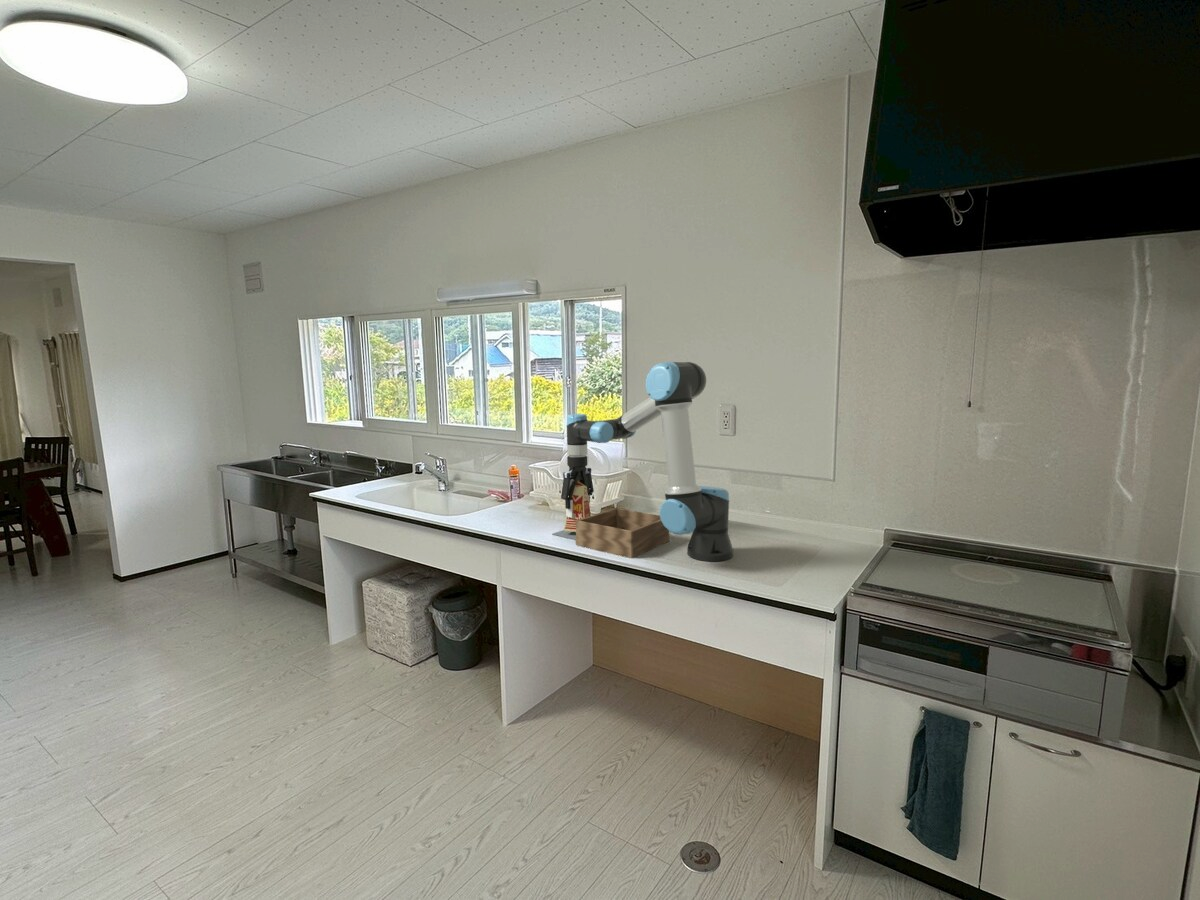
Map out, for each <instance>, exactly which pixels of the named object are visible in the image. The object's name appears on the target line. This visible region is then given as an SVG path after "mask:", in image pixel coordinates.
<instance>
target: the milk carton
mask: <svg viewBox="0 0 1200 900" xmlns="http://www.w3.org/2000/svg"><path fill="white" fill-rule="evenodd" d="M568 497H569V496H568ZM571 500H573V518H571V517H567V516H566V515H565V517H566V518H565V522H564V527H563V530H564V531H571V532H576V521H577V520H580V519H583V518H586V517H589V516H592V514H591V505H590V503H589V498H588V492H587V486H585V485H584V484H582V483H581V482H580V481H579V480H578V482H577V483H576V485H575V488H574V492H573V495H572V498H571Z"/></svg>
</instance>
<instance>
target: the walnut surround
mask: <svg viewBox="0 0 1200 900" xmlns="http://www.w3.org/2000/svg"><path fill="white" fill-rule="evenodd" d="M667 543H670V531H669V530H668V529H667V528H665V526H664V525H663V523H662V521H661V518H660V514H659V515H658V514H654V513H648V512H641V511H636V510H630V509H626V508H625V509H624V508H618V507H615V508H611V509H608V510H606V511H605V510H604V511H601V512H599V513H596V514H593V515H592V514H591V516H589V517H586V518H583V519H580V520H577V521H576V540H575V546H576V545H578V546H577V547H580V546H582V547H581V548H585V547H586V548H587V549H589V548H590V550H593V549H595V550H594V551H597V552H603V553H606V552H607V554H612V555H615V554H616V556H619V555H620V556H619V557H624V556H625V557H624V558H628V557H629V559H633V558H636V557H637V556H640V555H642V554H644V553H646V552H648V551H651V550H653V549H655V548H658V547H660V546H663V545H664V544H667Z"/></svg>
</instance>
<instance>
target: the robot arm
mask: <svg viewBox="0 0 1200 900" xmlns="http://www.w3.org/2000/svg"><path fill="white" fill-rule="evenodd" d="M706 385H707V375H706V372H705V371H704V369H703V368H702V367H701V366H700V365H698V364H697V363H695V362H691V361H685V362H684V361H681V362H680V361H676V362H675V361H666V362H660V363H657V364H655V365H653V367H651V369H650V370H649V372H648V373H647V376H646V379H645V390H646V392H647V395H648V396H649V397H648V398H646V399H645V400H643V401H641V402H640V403H639V404H637V405H636V406H634V407H632V408H631V409H630V410H628V411H625V413H623V414H622V415H621V416H619V417H617V418H613V419H607V420H606V419H605V420H604V419H603V420H588V416H587V415H586V414H584V413H571V414H568V415H567V416H566V425H565V426H566V450H567V457H566V458H567V459H566V462H567V463H566V464H567V466H568V471H567V472H566V471H564V472H562V476H563V480H562V486H561V495H560V498H561V500H564V501H565V502H564V504H565V510H566V511H565V517H566V516H567V517H571V518H573V500H571V498H572V495H573V492H574V488H575V485H576V483H577V482H578V480H579V481H580V482H581V483H582V484H584V485H585V486H587V492H588V498H589V504H590V503H591V496H593V493H595V492H594V491H595V489H594V485H593V478H592V468H591V467H587V466H588V442H591V443H598V444H605V443H609V442H610V441H614V440H625V439H628V438H632V437H634V435H635V434H636V433H637V430H639V429H641V428H642V427H644V426H646V425H648V424H649V423H651V422H652V421H654V420H655V419H658V418H659V417H660V416H661V424H662V425H661V426H662V434H663V435H662V436H663V444H664V452H665V460H666V461H665V462H666V463H665V464H666V472H667V473H666V474H667V480H668V481H667V482H668V488H666V490H665V492H664V496H665V497H664V498H665V501H663V503H662V504H661V506H660V508H659V515H660V518H661V521H662V523H663V525H664V526H665V528H667V529H668V530H669V533H672V534H673V535H677V536H678V535H679V536H681V535H682V536H683V535H689V534H691V535H690V538H689V541H688V545H687V548H686V549H687V552H686V553H687V555H688V557H689V558H692V559H694V560H698V561H705V562H723V561H726V560H727V561H728V560H730V559H732V558H733V557H734V548H733V546H732V541H731V537H730V535H729V514H730V513H729V511H730V510H729V509H730V499H729V498H730V496H729V491H728V490H727V489H725V488H721V487H716V486H708V485H705V486H704V485H698V484H697V480H696V471H695V461H694V451H693V442H692V434H691V425H690V416H689V408H690V407H691V405H692V404H693V400H694V399H695V398H697V397H699V396H700V395H701V394H702V393H703V391H704V390H705V388H706ZM568 496H569V497H568Z"/></svg>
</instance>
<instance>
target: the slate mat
mask: <svg viewBox="0 0 1200 900" xmlns="http://www.w3.org/2000/svg"><path fill="white" fill-rule="evenodd" d="M551 535H552V536H556V537H560V538H564V539H569V540H573V539H574V540H573V541H576V532H571V531H564V529H562V530H559V531H557V532H554V533H551Z"/></svg>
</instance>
